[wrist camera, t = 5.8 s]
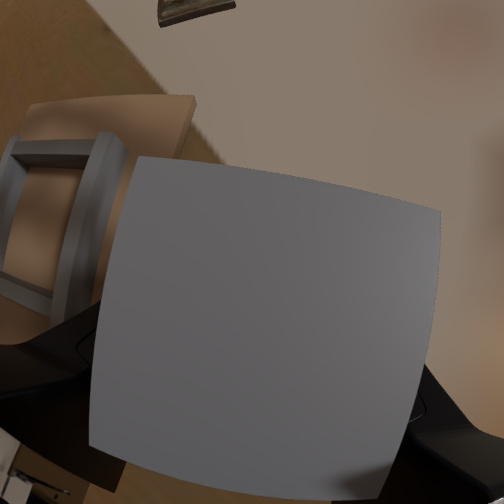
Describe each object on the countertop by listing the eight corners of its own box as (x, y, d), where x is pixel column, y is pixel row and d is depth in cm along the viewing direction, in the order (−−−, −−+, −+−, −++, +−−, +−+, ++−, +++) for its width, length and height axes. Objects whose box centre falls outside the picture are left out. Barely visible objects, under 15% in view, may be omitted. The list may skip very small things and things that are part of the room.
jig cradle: (129, 409, 15) (102, 429, 12) (-22, 330, 16) (-50, 331, 13) (196, 104, 18) (185, 70, 15) (36, 110, 19) (15, 91, 16)
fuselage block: (296, 360, 15) (377, 498, 3) (213, 344, 15) (89, 445, 3) (312, 277, 15) (441, 211, 4) (229, 262, 16) (138, 156, 4)
